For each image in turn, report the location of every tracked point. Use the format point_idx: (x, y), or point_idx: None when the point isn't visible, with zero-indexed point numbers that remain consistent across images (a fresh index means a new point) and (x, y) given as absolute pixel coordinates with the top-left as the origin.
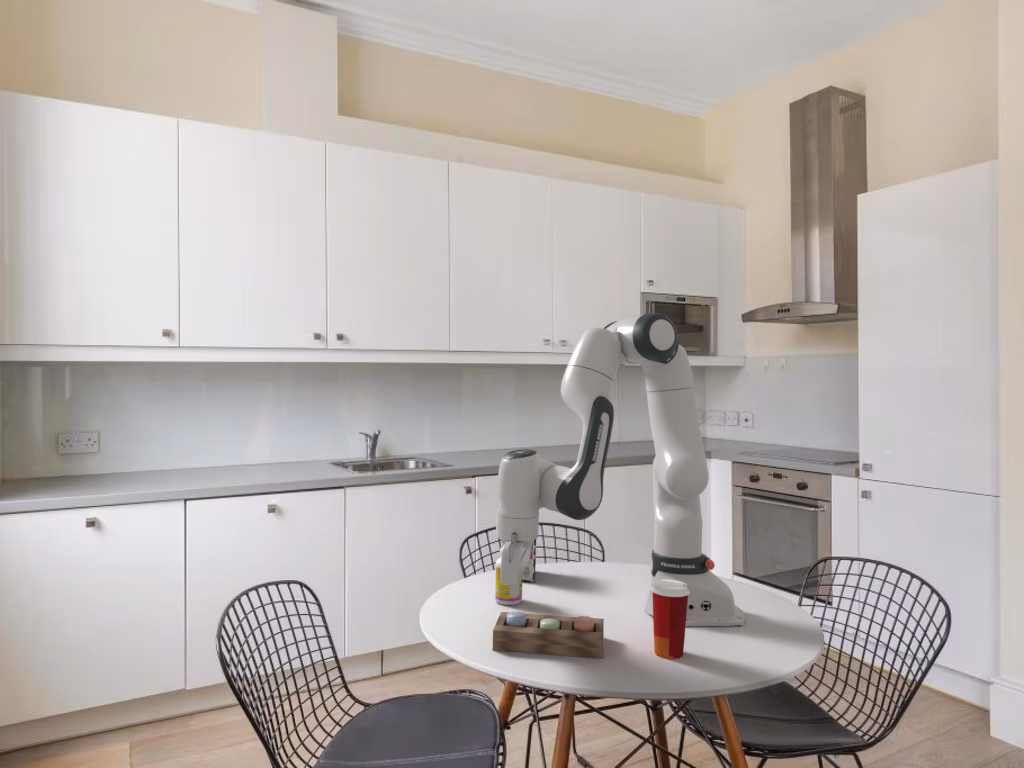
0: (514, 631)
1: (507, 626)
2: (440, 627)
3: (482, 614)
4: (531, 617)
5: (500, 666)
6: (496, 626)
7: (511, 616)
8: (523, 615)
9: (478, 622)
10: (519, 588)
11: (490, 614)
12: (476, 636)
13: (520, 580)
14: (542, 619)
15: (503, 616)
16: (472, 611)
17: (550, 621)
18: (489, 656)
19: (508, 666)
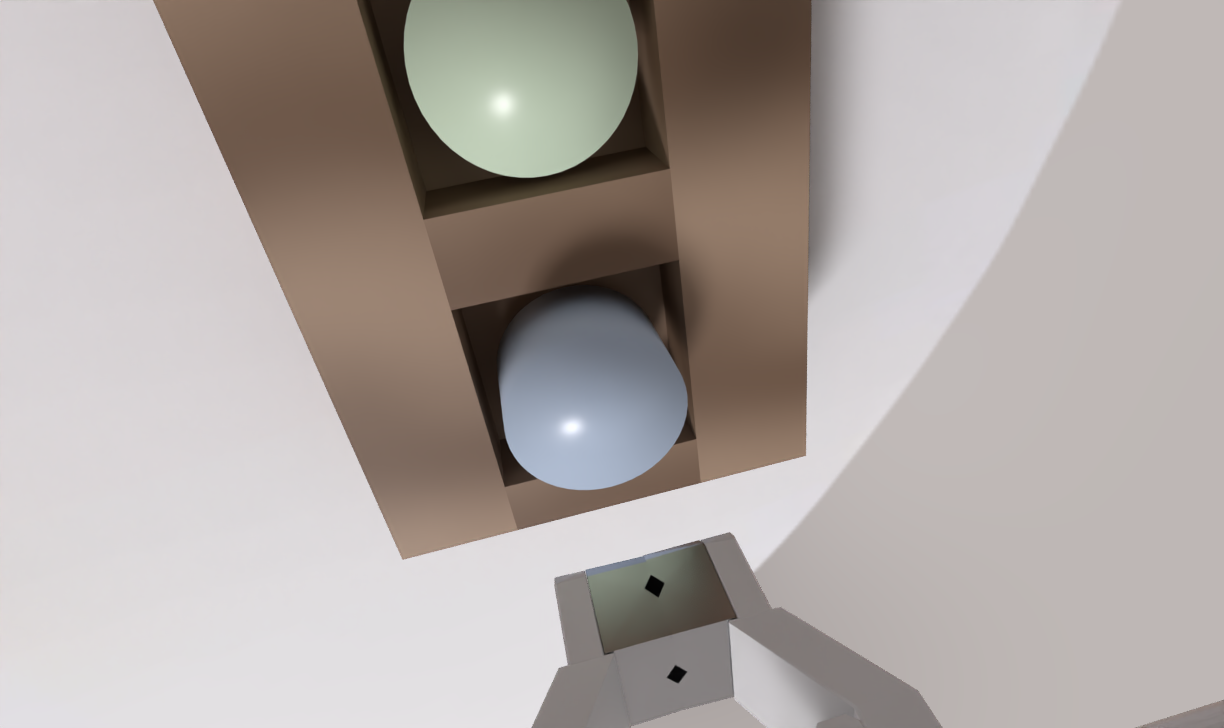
0: (799, 318)
1: (705, 402)
2: (525, 700)
3: (194, 653)
4: (407, 304)
5: (964, 254)
6: (729, 465)
7: (652, 436)
8: (590, 357)
9: (350, 611)
10: (640, 610)
11: (157, 621)
12: (574, 529)
13: (593, 718)
14: (483, 168)
15: (501, 506)
16: (185, 710)
17: (509, 57)
18: (837, 360)
19: (962, 210)
